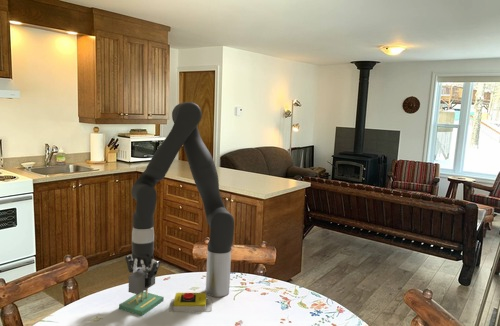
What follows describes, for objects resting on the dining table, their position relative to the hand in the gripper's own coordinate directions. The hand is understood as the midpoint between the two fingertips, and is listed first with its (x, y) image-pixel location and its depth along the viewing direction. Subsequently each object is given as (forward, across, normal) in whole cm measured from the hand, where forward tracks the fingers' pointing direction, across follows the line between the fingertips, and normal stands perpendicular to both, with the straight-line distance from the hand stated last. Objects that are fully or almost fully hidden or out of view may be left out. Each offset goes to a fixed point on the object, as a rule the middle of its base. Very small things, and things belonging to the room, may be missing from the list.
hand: (142, 285), depth 133 cm
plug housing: (+1, 0, 0) cm, 1 cm away
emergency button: (+8, -16, -8) cm, 19 cm away
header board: (+7, 0, 0) cm, 7 cm away
